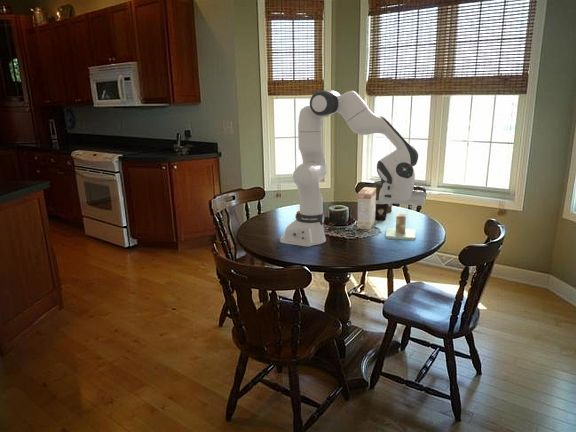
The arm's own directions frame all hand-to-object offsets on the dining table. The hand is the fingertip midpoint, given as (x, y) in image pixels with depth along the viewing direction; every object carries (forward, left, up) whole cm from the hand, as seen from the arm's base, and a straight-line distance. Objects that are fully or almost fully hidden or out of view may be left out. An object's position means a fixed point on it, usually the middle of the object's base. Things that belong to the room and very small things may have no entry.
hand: (400, 206), depth 196 cm
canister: (-10, +56, -18) cm, 60 cm away
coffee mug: (-12, +38, -18) cm, 44 cm away
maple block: (0, +12, -17) cm, 21 cm away
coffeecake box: (-18, +25, -18) cm, 36 cm away
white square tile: (0, +12, -18) cm, 22 cm away
